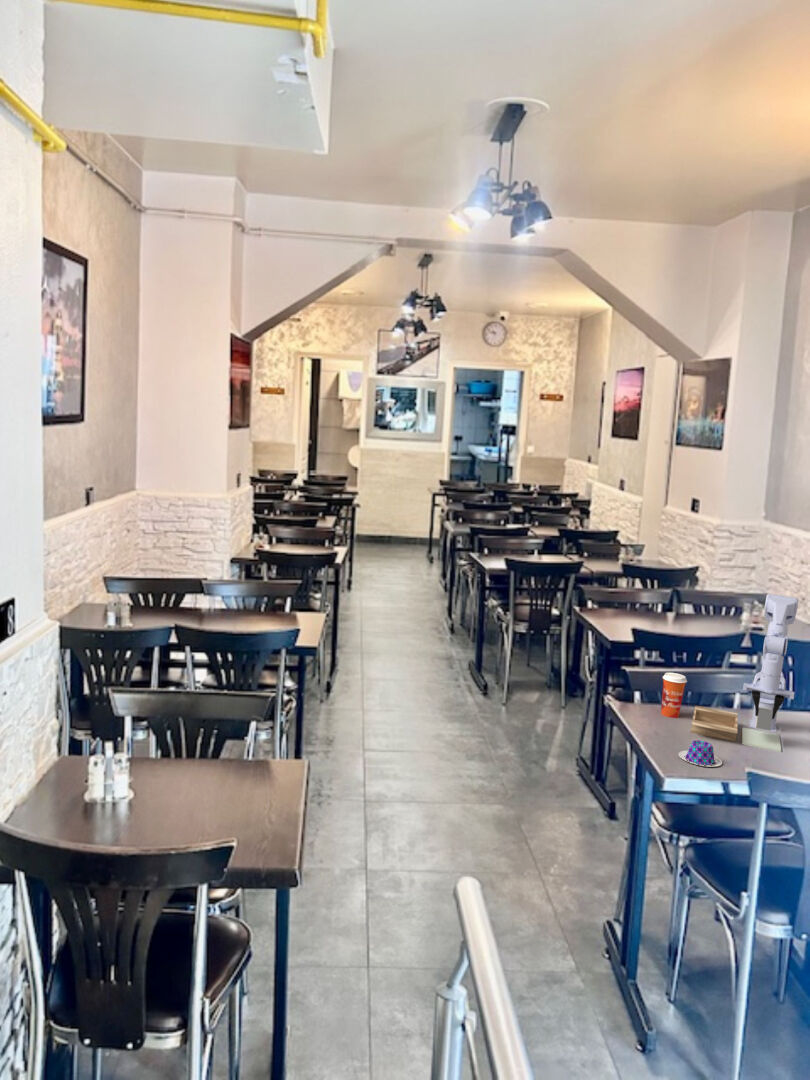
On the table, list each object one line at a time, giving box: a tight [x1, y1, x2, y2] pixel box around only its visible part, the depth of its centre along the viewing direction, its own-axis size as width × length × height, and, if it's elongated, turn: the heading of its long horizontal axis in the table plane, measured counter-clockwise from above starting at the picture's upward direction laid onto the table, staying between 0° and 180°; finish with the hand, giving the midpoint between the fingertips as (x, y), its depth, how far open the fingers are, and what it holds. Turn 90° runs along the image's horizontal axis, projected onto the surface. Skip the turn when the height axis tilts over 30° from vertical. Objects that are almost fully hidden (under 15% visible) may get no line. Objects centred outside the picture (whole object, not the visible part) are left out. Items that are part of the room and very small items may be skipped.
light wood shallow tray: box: [690, 705, 739, 742], centre depth 275 cm, size 21×13×4 cm, turn 159°
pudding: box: [678, 739, 723, 768], centre depth 249 cm, size 12×12×5 cm
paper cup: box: [660, 672, 688, 719], centre depth 287 cm, size 8×8×14 cm
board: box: [741, 727, 782, 753], centre depth 270 cm, size 16×11×1 cm
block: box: [755, 707, 773, 731], centre depth 270 cm, size 8×4×6 cm, turn 159°
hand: (764, 716), depth 268 cm, fingers closed on block, 4 cm apart
